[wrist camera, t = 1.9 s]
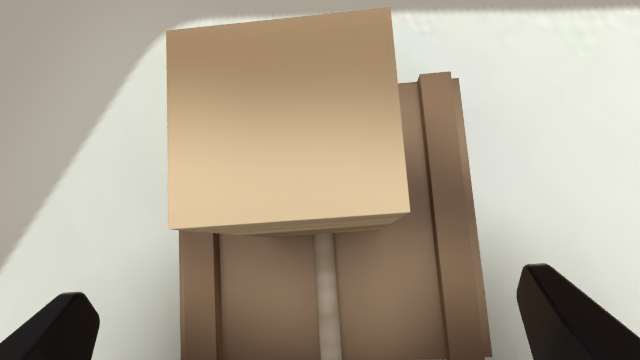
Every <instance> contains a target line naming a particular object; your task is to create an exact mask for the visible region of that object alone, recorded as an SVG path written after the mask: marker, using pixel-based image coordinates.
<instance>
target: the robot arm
mask: <svg viewBox="0 0 640 360" xmlns="http://www.w3.org/2000/svg"><path fill="white" fill-rule="evenodd" d="M517 302H518V306H519V309H520V313H521V317H522V320H523V324H524V327H525V331H526V334H527V338H528V341H529V345H530V349H531V352H532V356H533V359H534V360H640V338H639V337H638V336H637V335H636V334H634V333H633V332H632V331H631V330H630V329H628V328H627V327H626V326H625V325H623V324H622V323H621V322H620V321H618V320H617V319H616V318H615V317H613V316H612V315H611V314H610V313H608V312H607V311H606V310H605V309H603V308H602V307H601V306H600V305H598V304H597V303H596V302H595V301H593V300H592V299H591V298H590V297H589V296H587V295H586V294H585V293H584V292H582V291H581V290H580V289H579V288H577V287H576V286H575V285H574V284H572V283H571V282H570V281H569V280H567V279H566V278H565V277H564V276H562V275H561V274H560V273H559V272H557V271H556V270H555V269H554V268H552V267H551V266H550V265H548V264H543V263H541V264H528V265H525V266H524V267H523V270H522V273H521V277H520V281H519V285H518V288H517ZM99 325H100V319H99V315H98V313H97V312H96V310H95V309H94V307H93V306H92V304H91V303H90V301H89V300H88V298H87V297H86V295H85V294H84V293H82V292H68V293H62V294H60V295H58V296H57V297H56V298H54V299H53V300H52V301H51V302H50V303H48V304H47V305H46V306H45V307H44V308H42V309H41V310H40V311H39V312H37V313H36V314H35V315H34V316H33V317H31V318H30V319H29V320H28V321H27V322H25V323H24V324H23V325H22V326H21V327H19V328H18V329H17V330H16V331H14V332H13V333H12V334H11V335H10V336H8V337H7V338H6V339H5V340H4V341H2V342H1V343H0V360H91V358H92V354H93V350H94V346H95V342H96V338H97V334H98V330H99Z"/></svg>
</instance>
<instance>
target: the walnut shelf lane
mask: <svg viewBox="0 0 640 360" xmlns="http://www.w3.org/2000/svg"><path fill="white" fill-rule="evenodd" d="M398 91H399V102H400V112H401V122H402V132H403V143H404V153H405V163H406V173H407V183H408V194H409V204H410V213H408V214H406V215H405V216H403V217H401V218H399V219H398V220H396V221H394V222H393V223H391V224H389V225H387V226H386V227H384V228H382V229H381V230H369V231H355V232H340V233H333V234H334V249H335V263H336V277H337V292H338V306H339V320H340V335H341V349H342V360H434V359H447V360H485V359H484V357H492V351H491V342H490V334H489V326H488V317H487V309H486V301H485V293H484V284H483V276H482V268H481V260H480V251H479V243H478V235H477V227H476V218H475V210H474V202H473V193H472V185H471V177H470V169H469V160H468V152H467V144H466V136H465V127H464V119H463V111H462V102H461V94H460V86H459V78H454V79H451V72H440V73H430V74H420V76H419V78H418V81H417V82H411V83H400V84H398ZM179 262H180V328H181V360H321V353H320V337H319V321H318V305H317V289H316V273H315V257H314V241H313V234H311V235H296V236H281V237H258V236H246V235H233V234H221V233H208V232H196V231H183V230H179Z"/></svg>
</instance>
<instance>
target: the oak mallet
mask: <svg viewBox="0 0 640 360" xmlns="http://www.w3.org/2000/svg"><path fill="white" fill-rule="evenodd" d="M166 45H167V133H168V222H169V229H171V230H183V231H196V232H208V233H221V234H233V235H246V236H258V237H281V236H296V235H311V234H313V241H314V257H315V273H316V289H317V305H318V321H319V337H320V353H321V360H342V349H341V335H340V320H339V306H338V292H337V277H336V263H335V249H334V234H333V233H340V232H355V231H369V230H381V229H382V228H384V227H386V226H387V225H389V224H391V223H393V222H394V221H396V220H398V219H399V218H401V217H403V216H405V215H406V214H408V213H410V204H409V194H408V183H407V173H406V163H405V153H404V143H403V132H402V122H401V112H400V102H399V91H398V81H397V71H396V61H395V51H394V40H393V30H392V20H391V10H390V7H389V8H379V9H370V10H360V11H351V12H341V13H331V14H322V15H312V16H303V17H293V18H284V19H274V20H264V21H255V22H245V23H236V24H226V25H217V26H207V27H197V28H188V29H178V30H169V31H166Z"/></svg>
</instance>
